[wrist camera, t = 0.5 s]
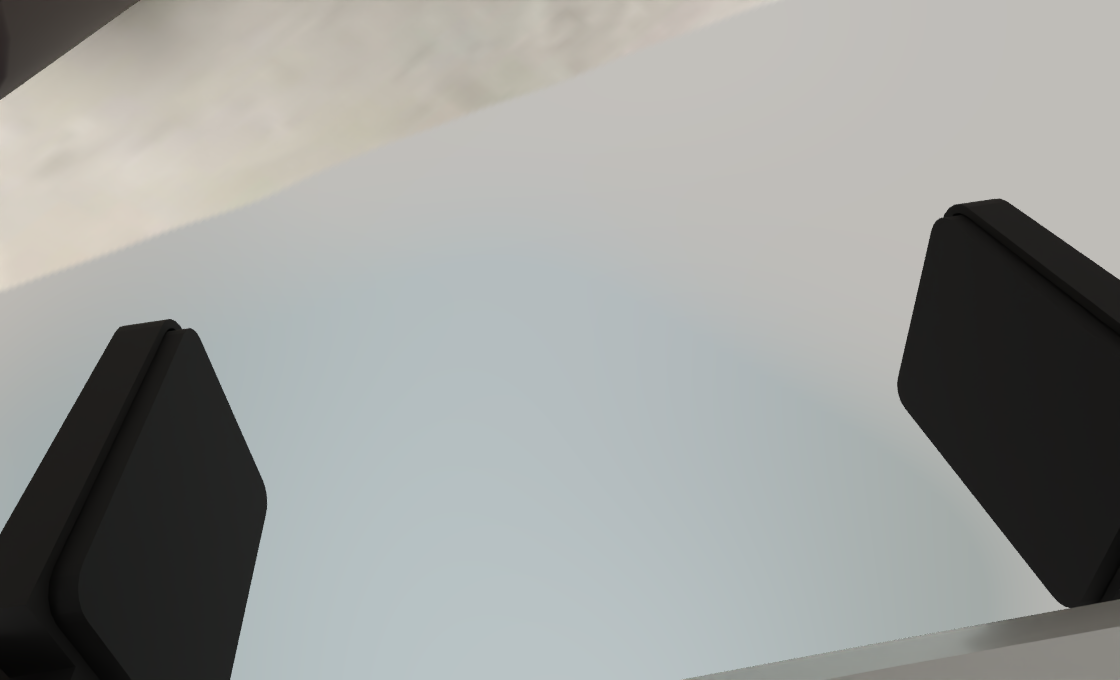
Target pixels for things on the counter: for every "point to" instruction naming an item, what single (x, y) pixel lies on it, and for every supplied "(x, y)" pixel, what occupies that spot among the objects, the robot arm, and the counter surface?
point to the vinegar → (46, 33)
